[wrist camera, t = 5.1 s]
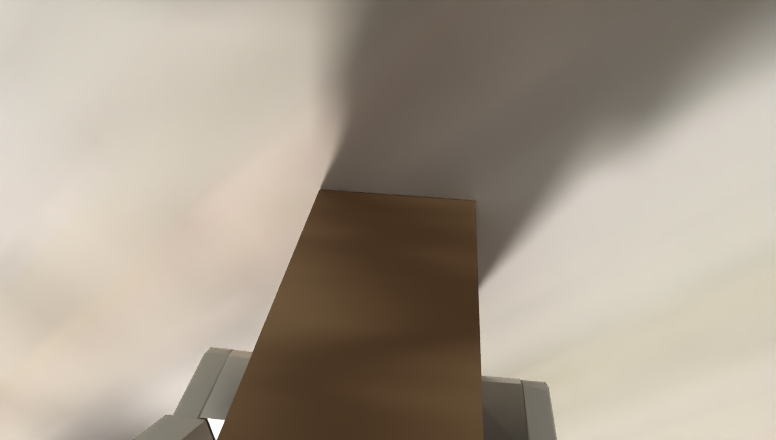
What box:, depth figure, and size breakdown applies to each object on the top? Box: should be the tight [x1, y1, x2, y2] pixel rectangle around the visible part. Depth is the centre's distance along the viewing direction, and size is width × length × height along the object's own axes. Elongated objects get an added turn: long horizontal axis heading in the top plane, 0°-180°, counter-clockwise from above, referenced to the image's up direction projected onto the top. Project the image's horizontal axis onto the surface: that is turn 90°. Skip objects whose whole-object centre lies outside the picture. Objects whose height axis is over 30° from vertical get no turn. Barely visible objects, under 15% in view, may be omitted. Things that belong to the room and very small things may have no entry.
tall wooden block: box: [217, 190, 483, 440], centre depth 10 cm, size 4×4×9 cm
